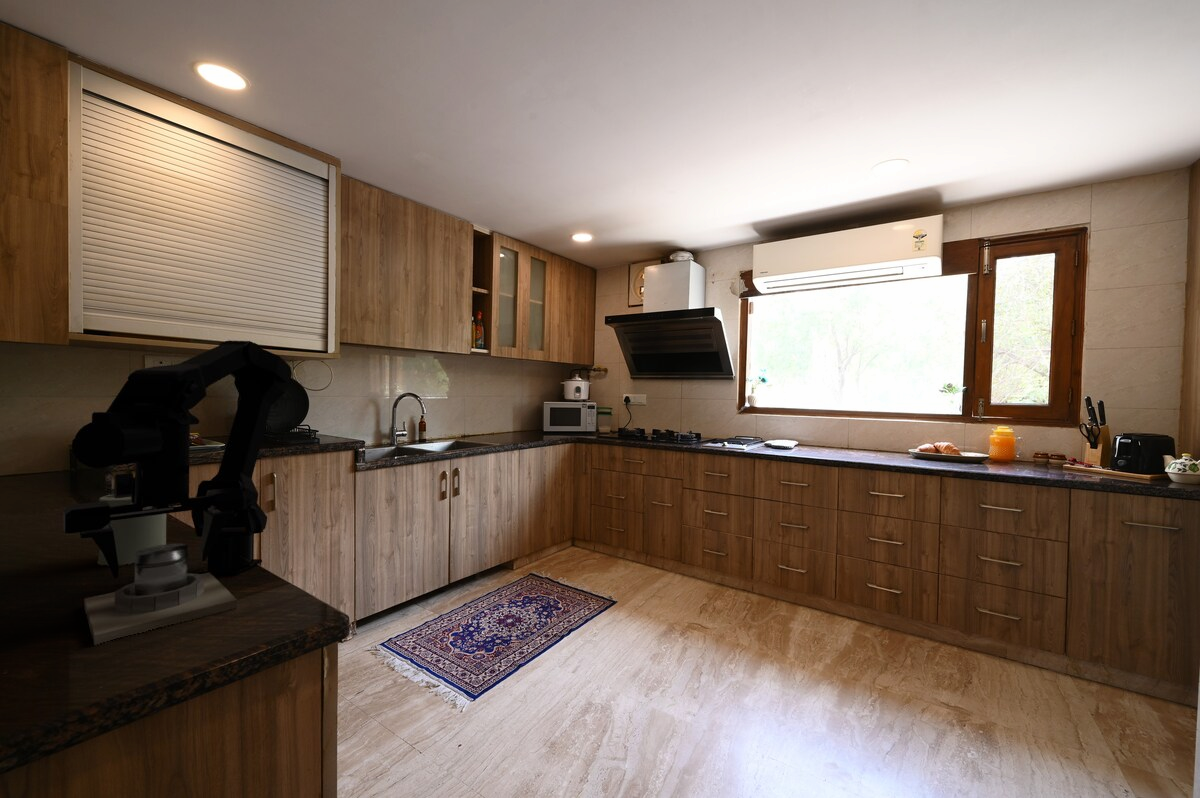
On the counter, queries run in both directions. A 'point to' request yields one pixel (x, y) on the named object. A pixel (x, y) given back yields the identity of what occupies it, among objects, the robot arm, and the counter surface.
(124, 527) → the can
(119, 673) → the counter surface
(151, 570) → the piston
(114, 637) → the ring plate
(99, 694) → the counter surface
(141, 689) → the counter surface
